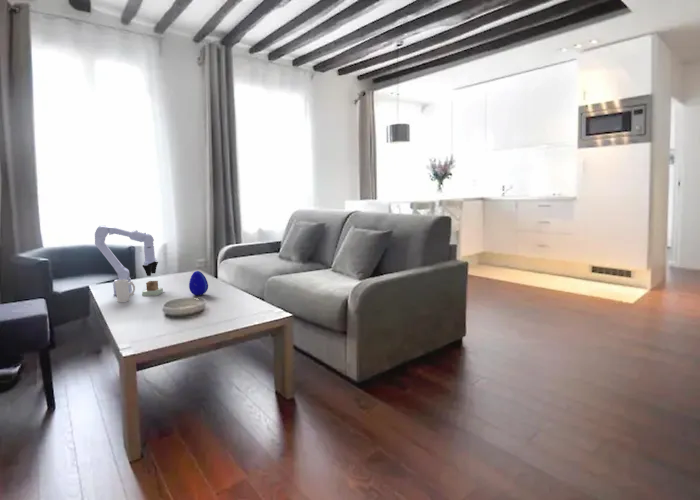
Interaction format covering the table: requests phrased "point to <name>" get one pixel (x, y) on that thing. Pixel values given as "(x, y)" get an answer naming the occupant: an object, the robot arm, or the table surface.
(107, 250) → the robot arm
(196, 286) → the ornament
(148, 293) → the base plate
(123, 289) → the mug
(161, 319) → the table surface
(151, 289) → the walnut cube
